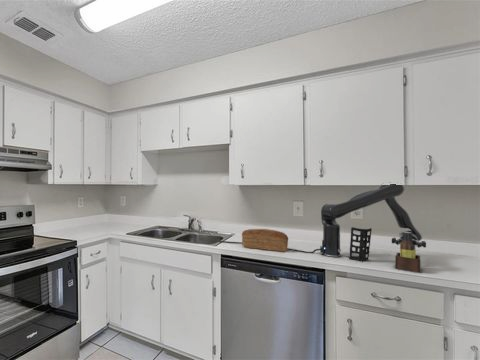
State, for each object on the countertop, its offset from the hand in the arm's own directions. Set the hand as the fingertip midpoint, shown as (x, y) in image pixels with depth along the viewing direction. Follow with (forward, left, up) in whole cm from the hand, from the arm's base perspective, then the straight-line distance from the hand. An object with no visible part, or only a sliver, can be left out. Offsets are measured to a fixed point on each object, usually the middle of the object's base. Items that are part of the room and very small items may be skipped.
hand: (407, 244), depth 146 cm
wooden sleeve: (0, -2, -13) cm, 13 cm away
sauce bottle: (0, -2, -13) cm, 13 cm away
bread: (-74, -16, -13) cm, 77 cm away
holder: (-21, -1, -13) cm, 25 cm away
